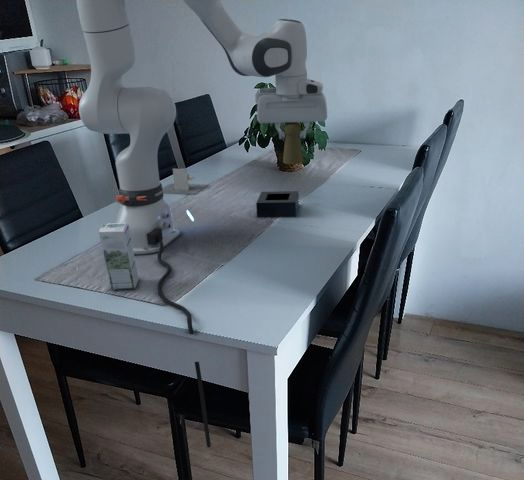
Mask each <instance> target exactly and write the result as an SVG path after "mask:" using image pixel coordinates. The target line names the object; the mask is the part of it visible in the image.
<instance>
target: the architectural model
mask: <svg viewBox="0 0 524 480" xmlns="http://www.w3.org/2000/svg"><path fill="white" fill-rule="evenodd" d="M172 175H173V182H174V183H171V184H169V185H168V186H166V187H164V188H163V194H181V195H183V194H184V195H196V194H198V193H199V192H201V191H203V190H204V189H205V188H206V187H207V188H208V185H203V184H202V185H200V184H189V181H190V182H192V181H193V180H195V179H196V177H192V176H190V175H189V174H188V169H187V168H184V167H182V168H172Z"/></svg>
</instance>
